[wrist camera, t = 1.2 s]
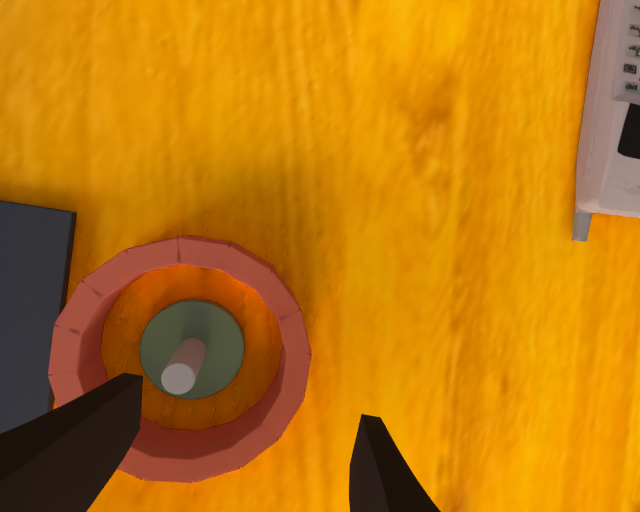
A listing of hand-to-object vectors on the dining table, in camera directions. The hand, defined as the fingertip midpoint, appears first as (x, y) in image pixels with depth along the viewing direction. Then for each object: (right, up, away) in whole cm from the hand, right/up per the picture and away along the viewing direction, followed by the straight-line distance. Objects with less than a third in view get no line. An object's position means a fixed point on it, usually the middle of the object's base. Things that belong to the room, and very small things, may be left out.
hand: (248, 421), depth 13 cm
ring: (-5, 0, +11) cm, 13 cm away
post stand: (-5, 0, +11) cm, 13 cm away
